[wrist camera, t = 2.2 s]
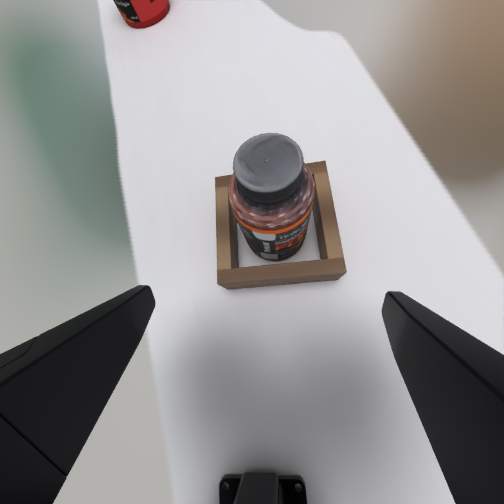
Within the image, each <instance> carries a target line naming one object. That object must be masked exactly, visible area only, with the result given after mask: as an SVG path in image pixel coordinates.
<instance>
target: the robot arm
mask: <svg viewBox="0 0 504 504" xmlns="http://www.w3.org/2000/svg"><path fill="white" fill-rule="evenodd" d="M154 308H155V299H154V296H153V293H152V290H151V288H150V286H148V285H138V286H136V287H134V288H132V289H130V290H128V291H126V292H124V293H122V294H120V295H118V296H116V297H114V298H112V299H110V300H108V301H106V302H104V303H102V304H100V305H98V306H96V307H94V308H92V309H90V310H88V311H86V312H84V313H82V314H80V315H78V316H77V317H74V318H72V319H70V320H68V321H66V322H65V323H62V324H60V325H58V326H56V327H55V328H52V329H50V330H48V331H46V332H44V333H42V334H40V335H39V336H37V337H34V338H32V339H30V340H28V341H26V342H24V343H22V344H21V345H18V346H16V347H14V348H12V349H10V350H8V351H6V352H4V353H2V354H0V504H53V502H54V500H55V499H56V497H57V495H58V493H59V491H60V489H61V487H62V486H63V483H64V482H65V480H66V476H68V474H69V472H70V470H71V468H72V467H73V465H74V463H75V461H76V459H77V458H78V456H79V454H80V452H81V450H82V448H83V446H84V445H85V443H86V441H87V439H88V437H89V435H90V433H91V432H92V430H93V428H94V426H95V424H96V422H97V420H98V418H99V417H100V415H101V413H102V411H103V409H104V407H105V406H106V404H107V402H108V400H109V398H110V396H111V395H112V393H113V391H114V389H115V387H116V385H117V384H118V382H119V380H120V378H121V376H122V374H123V372H124V371H125V369H126V367H127V365H128V363H129V361H130V359H131V358H132V356H133V354H134V352H135V350H136V348H137V346H138V345H139V342H140V340H141V338H142V336H143V334H144V332H145V329H146V327H147V324H148V322H149V320H150V317H151V315H152V313H153V310H154ZM382 317H383V321H384V324H385V327H386V331H387V334H388V338H389V341H390V345H391V348H392V351H393V354H394V357H395V360H396V363H397V365H398V367H399V370H400V372H401V375H402V377H403V379H404V382H405V384H406V386H407V389H408V391H409V394H410V396H411V398H412V401H413V403H414V406H415V408H416V410H417V413H418V415H419V418H420V420H421V422H422V425H423V427H424V429H425V432H426V434H427V437H428V439H429V441H430V444H431V446H432V449H433V451H434V453H435V456H436V458H437V460H438V463H439V465H440V468H441V470H442V472H443V475H444V477H445V480H446V482H447V484H448V487H449V489H450V491H451V494H452V496H453V499H454V501H455V503H456V504H504V355H503V354H501V353H500V352H498V351H496V350H495V349H493V348H491V347H490V346H488V345H487V344H485V343H483V342H482V341H480V340H478V339H477V338H475V337H474V336H472V335H470V334H469V333H467V332H465V331H464V330H462V329H461V328H459V327H457V326H456V325H454V324H452V323H451V322H449V321H448V320H446V319H444V318H443V317H441V316H439V315H438V314H436V313H434V312H433V311H431V310H430V309H428V308H426V307H425V306H423V305H421V304H420V303H418V302H417V301H415V300H413V299H412V298H410V297H408V296H407V295H405V294H404V293H402V292H399V291H388V292H387V293H386V295H385V299H384V303H383V307H382ZM224 482H227V483H228V484H229V487H225V485H224ZM297 483H299V484H300V485H301V488H297V487H296V486H295V485H296V484H297ZM219 497H220V504H307V498H306V489H305V482H304V480H303V478H301V477H300V476H278V475H277V474H276V473H247V472H246V473H244V474H243V475H224V476H223V477H222V479H221V481H220V485H219Z"/></svg>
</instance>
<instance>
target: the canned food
mask: <svg viewBox="0 0 504 504" xmlns="http://www.w3.org/2000/svg"><path fill="white" fill-rule="evenodd" d="M113 1H114V2H115V4H116V6H117V8H118V10H119V11H120V13H121V15H122V17H123V19H124V20H125V21H126V22H127V23H128V24H129V25H130V26H132V27H135V28H144V27H148V26H151V25H153V24H155V23H157V22H159V21H160V20H161V19H162V18H164V16H165V15H166V14H167V12H168V9H169V1H168V0H113Z"/></svg>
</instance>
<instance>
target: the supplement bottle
mask: <svg viewBox="0 0 504 504" xmlns="http://www.w3.org/2000/svg"><path fill="white" fill-rule="evenodd" d="M233 170H234V173H233V175H232V177H231V179H230V183H229V188H228V196H229V202H230V206H231V208H232V211H233V213H234V215H235V218H236V220H237V222H238V224H239V226H240V228H241V230H242V232H243V234H244V236H245V239H246V241H247V243H248V245H249V246H250V248H251V249H252V250H253V252H254V253H255V254H257V255H258V256H260V257H262V258H264V259H267V260H273V261H277V260H283V259H286V258H288V257H290V256H292V255H293V254H295V253H296V252H297V251H298V250H299V249H300V247H301V246H302V244H303V242H304V239H305V236H306V231H307V228H308V223H309V218H310V214H311V210H312V206H313V200H314V195H315V183H314V179H313V176H312V173H311V171H310V170H309V168H308V167H307V166H306V164H305V163H304V162H303V154H302V151H301V149H300V147H299V145H298V144H297V143H296V142H295V141H293V140H292V139H290V138H289V137H288V136H285V135H282V134H278V133H265V134H260V135H257V136H254V137H252V138H250V139H249V140H247V141H246V142H245V143H243V144H242V145H241V146H240V148H239V149H238V151H237V152H236V154H235V157H234V161H233Z"/></svg>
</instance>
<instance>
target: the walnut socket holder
mask: <svg viewBox="0 0 504 504" xmlns="http://www.w3.org/2000/svg"><path fill="white" fill-rule="evenodd" d="M306 166H307V167H308V168H309V170H310V171H311V173H312V176H313V179H314V183H315V195H314V200H313V206H312V208H313V214H314V221H315V227H316V233H317V239H318V246H319V252H320V258H321V260H312V261H302V262H292V263H282V264H272V265H262V266H252V267H242V268H239V262H238V242H237V222H236V218H235V215H234V213H233V211H232V208H231V206H230V202H229V196H228V188H229V183H230V179H231V177H232V175H227V176H220V177H215V191H216V238H217V284H218V285H220V286H222V287H224V288H226V289H239V288H250V287H261V286H273V285H284V284H295V283H307V282H318V281H329V280H338V279H339V278H340V277H341V276H343V275H344V274H345V273H346V272H347V271H346V266H345V261H344V256H343V250H342V245H341V240H340V235H339V230H338V224H337V219H336V214H335V209H334V203H333V198H332V193H331V188H330V182H329V177H328V172H327V167H326V162H325V161H320V162H314V163H307V164H306Z"/></svg>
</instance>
